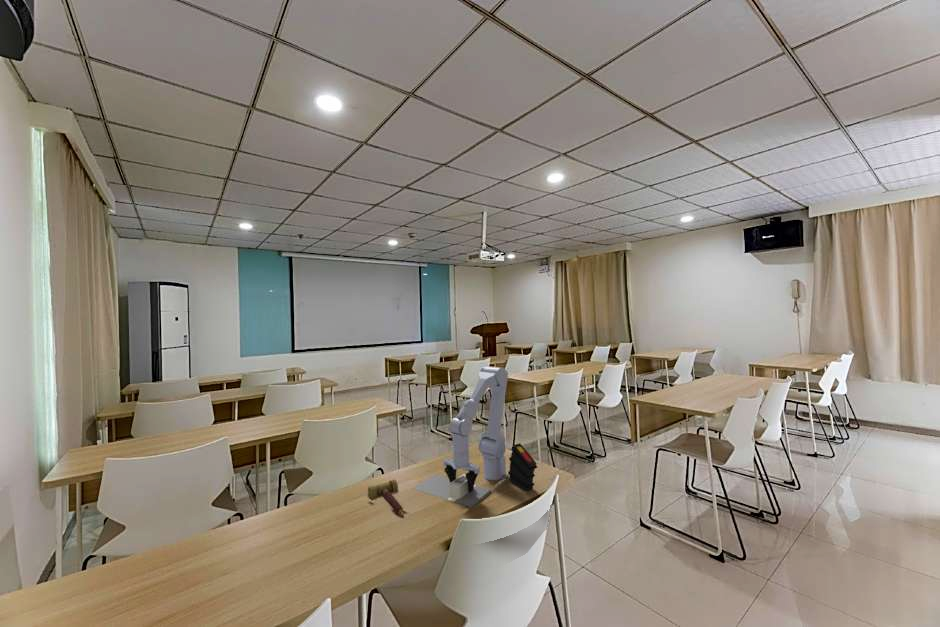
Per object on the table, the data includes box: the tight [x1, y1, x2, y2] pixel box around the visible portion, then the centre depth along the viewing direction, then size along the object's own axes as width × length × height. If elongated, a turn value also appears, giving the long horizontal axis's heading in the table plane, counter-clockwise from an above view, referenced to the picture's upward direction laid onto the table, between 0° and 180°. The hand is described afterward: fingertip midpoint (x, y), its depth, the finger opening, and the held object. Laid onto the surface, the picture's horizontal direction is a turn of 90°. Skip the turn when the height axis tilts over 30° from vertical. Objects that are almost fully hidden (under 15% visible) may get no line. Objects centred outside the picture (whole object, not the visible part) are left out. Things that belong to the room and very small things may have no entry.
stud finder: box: [450, 473, 474, 499], centre depth 139 cm, size 9×4×5 cm, turn 146°
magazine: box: [507, 442, 538, 492], centre depth 145 cm, size 4×13×15 cm, turn 30°
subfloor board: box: [411, 474, 492, 510], centre depth 142 cm, size 14×26×1 cm, turn 56°
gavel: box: [367, 479, 405, 517], centre depth 134 cm, size 21×5×10 cm
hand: (462, 488), depth 139 cm, fingers open, 7 cm apart
